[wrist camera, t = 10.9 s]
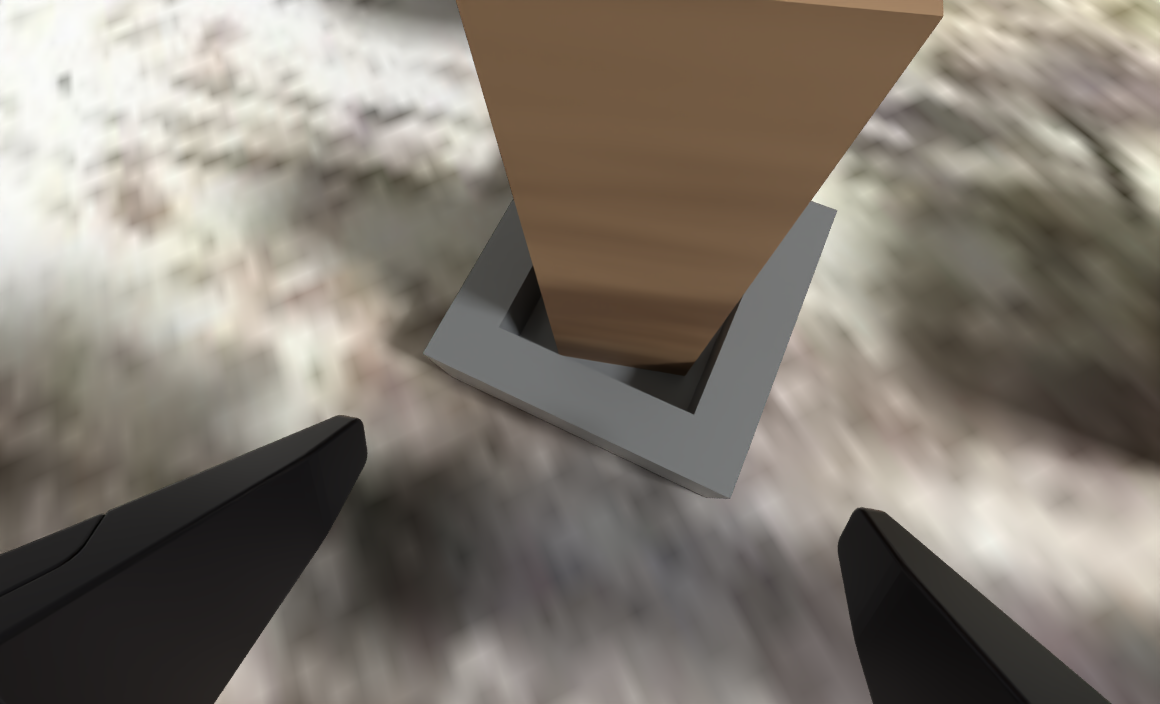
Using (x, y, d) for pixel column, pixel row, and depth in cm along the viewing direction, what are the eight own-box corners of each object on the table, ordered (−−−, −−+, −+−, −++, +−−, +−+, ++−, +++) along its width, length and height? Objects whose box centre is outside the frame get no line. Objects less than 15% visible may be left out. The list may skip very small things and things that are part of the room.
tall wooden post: (685, 375, 17) (944, 15, 4) (559, 355, 17) (446, -30, 4) (699, 261, 18) (929, -281, 5) (581, 244, 18) (543, -296, 6)
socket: (706, 498, 16) (730, 498, 13) (451, 376, 17) (422, 353, 15) (800, 254, 18) (837, 210, 15) (569, 167, 20) (563, 113, 17)
